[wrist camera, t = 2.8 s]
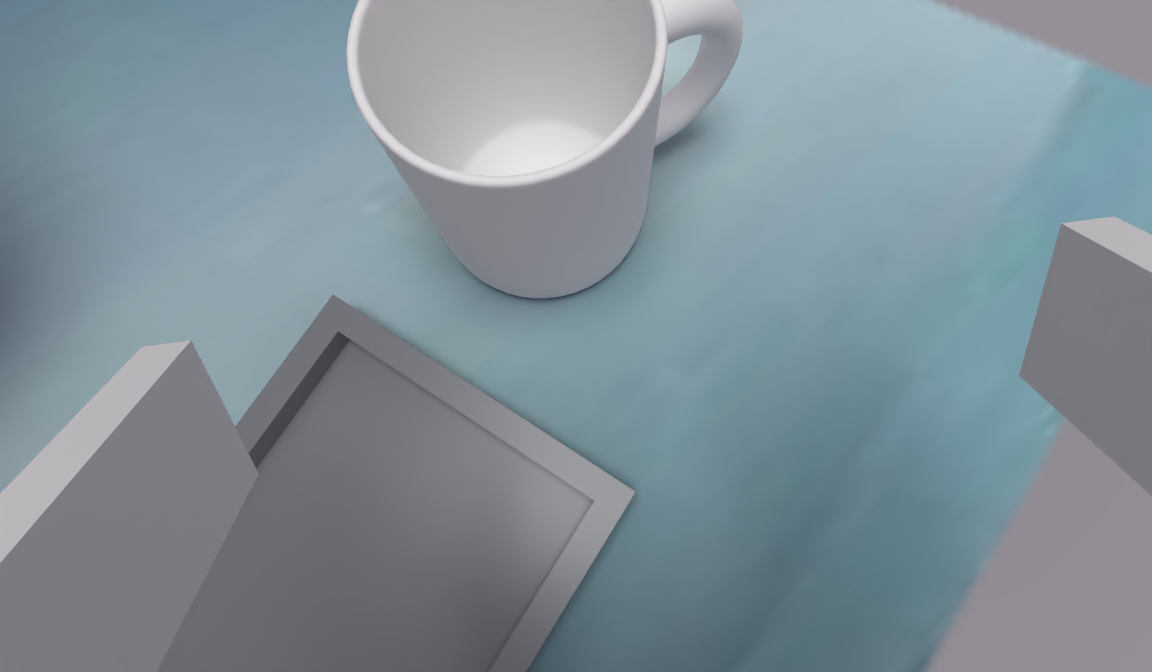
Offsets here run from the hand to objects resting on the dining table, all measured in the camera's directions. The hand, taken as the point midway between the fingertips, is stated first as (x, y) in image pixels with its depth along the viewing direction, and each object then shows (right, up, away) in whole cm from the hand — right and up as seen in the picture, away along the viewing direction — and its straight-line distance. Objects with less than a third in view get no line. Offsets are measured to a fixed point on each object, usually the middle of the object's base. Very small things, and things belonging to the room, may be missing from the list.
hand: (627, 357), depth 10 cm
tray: (-9, -9, +13) cm, 18 cm away
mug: (0, +6, +17) cm, 18 cm away
